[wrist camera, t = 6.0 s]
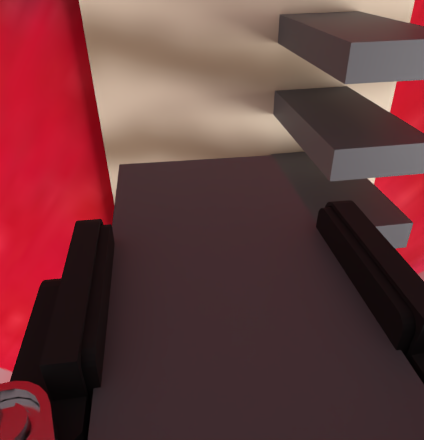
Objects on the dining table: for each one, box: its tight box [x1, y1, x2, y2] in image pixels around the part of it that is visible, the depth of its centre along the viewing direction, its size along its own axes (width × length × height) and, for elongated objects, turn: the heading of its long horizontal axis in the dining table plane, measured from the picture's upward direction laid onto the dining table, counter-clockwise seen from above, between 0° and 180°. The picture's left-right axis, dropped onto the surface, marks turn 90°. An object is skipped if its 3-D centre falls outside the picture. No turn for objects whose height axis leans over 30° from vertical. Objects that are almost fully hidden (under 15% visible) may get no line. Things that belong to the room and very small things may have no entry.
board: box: [79, 0, 415, 205], centre depth 29 cm, size 26×20×1 cm
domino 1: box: [88, 155, 424, 440], centre depth 9 cm, size 2×5×10 cm, turn 91°
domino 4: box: [271, 152, 413, 248], centre depth 26 cm, size 2×5×10 cm, turn 91°
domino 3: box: [273, 86, 424, 181], centre depth 23 cm, size 2×5×10 cm, turn 91°
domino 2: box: [278, 11, 424, 84], centre depth 21 cm, size 2×5×10 cm, turn 91°
